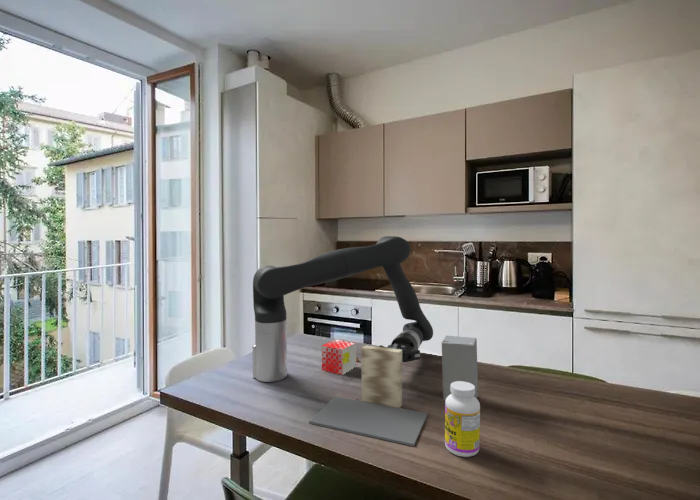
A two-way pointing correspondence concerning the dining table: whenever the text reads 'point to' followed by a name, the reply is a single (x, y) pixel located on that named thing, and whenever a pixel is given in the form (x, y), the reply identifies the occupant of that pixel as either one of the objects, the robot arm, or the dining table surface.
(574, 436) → the dining table surface
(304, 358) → the dining table surface
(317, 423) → the mat
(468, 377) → the skincare box
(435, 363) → the dining table surface
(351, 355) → the red white patterned cube
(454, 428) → the supplement bottle
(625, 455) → the dining table surface
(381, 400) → the board
